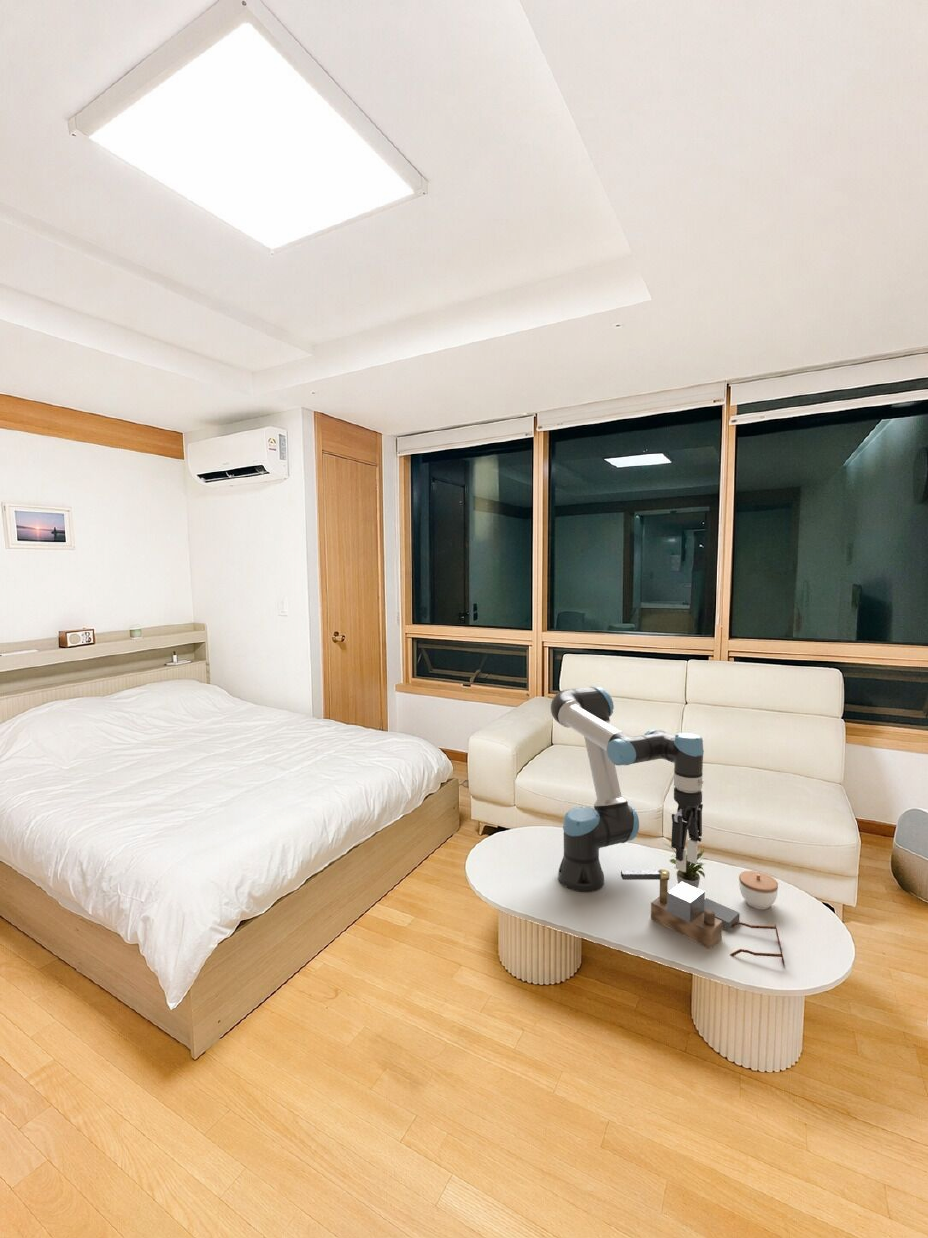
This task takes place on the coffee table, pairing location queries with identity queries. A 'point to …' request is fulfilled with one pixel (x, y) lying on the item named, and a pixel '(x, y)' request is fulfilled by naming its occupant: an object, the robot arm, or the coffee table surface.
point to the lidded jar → (758, 889)
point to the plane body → (699, 930)
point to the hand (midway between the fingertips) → (686, 865)
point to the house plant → (690, 871)
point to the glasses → (759, 953)
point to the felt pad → (722, 913)
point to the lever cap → (685, 902)
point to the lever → (646, 875)
